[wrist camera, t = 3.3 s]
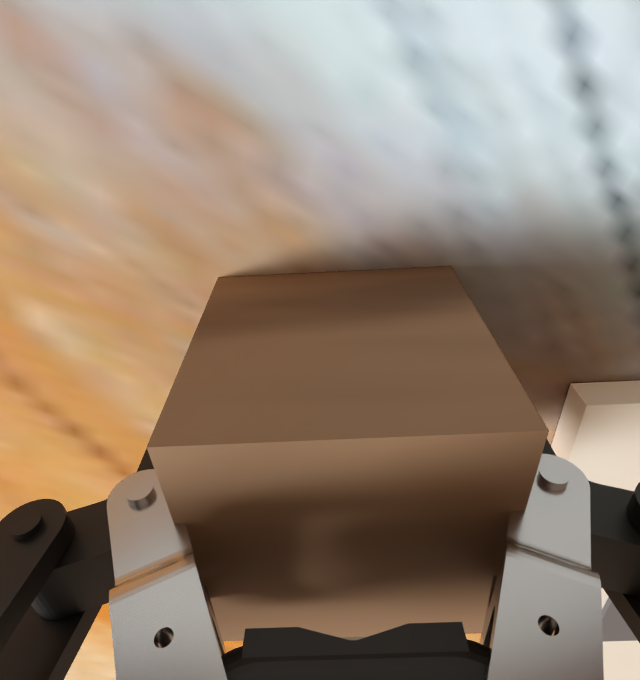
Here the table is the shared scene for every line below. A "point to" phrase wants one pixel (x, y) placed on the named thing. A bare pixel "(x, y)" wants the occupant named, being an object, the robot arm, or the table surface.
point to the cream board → (606, 482)
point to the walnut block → (346, 451)
